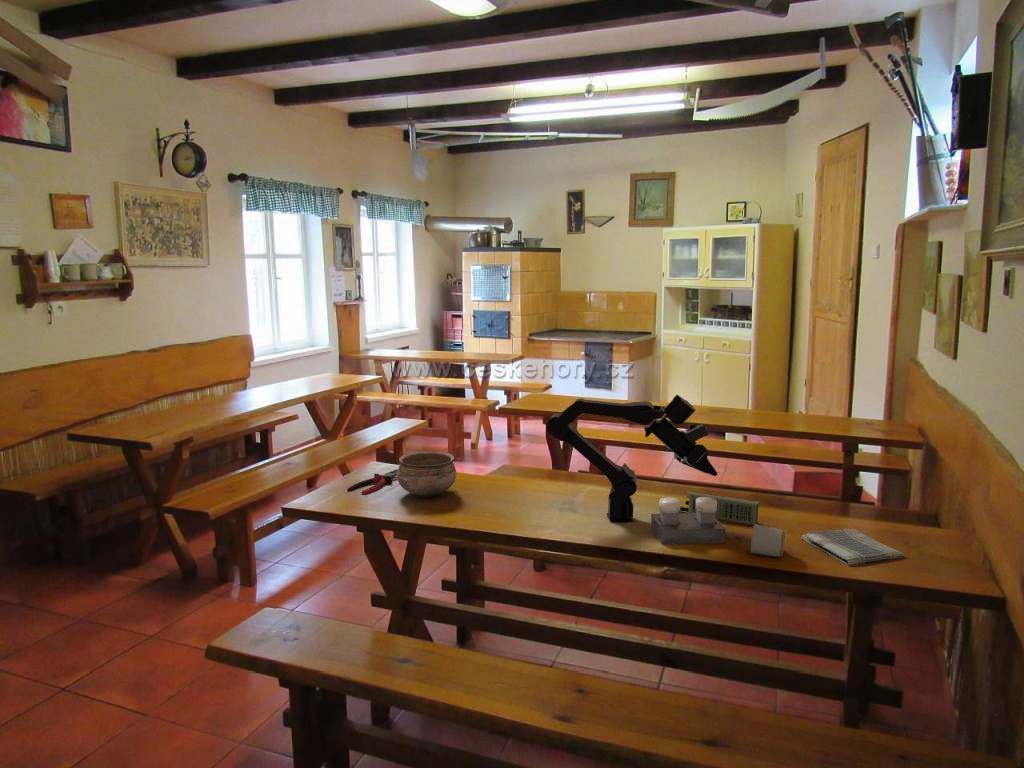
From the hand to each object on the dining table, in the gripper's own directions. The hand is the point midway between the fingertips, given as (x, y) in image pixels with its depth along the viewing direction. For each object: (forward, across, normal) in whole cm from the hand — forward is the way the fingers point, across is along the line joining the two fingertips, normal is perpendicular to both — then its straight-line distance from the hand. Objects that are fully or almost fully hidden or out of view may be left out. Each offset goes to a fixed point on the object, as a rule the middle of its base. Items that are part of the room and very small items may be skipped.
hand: (712, 473), depth 195 cm
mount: (+5, -4, +18) cm, 19 cm away
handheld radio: (+11, +10, +9) cm, 17 cm away
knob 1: (-1, -5, +18) cm, 19 cm away
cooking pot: (-56, +27, +64) cm, 89 cm away
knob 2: (+6, -5, +12) cm, 14 cm away
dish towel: (+37, -11, -8) cm, 39 cm away
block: (+20, -15, +8) cm, 26 cm away
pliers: (-71, +38, +75) cm, 110 cm away
